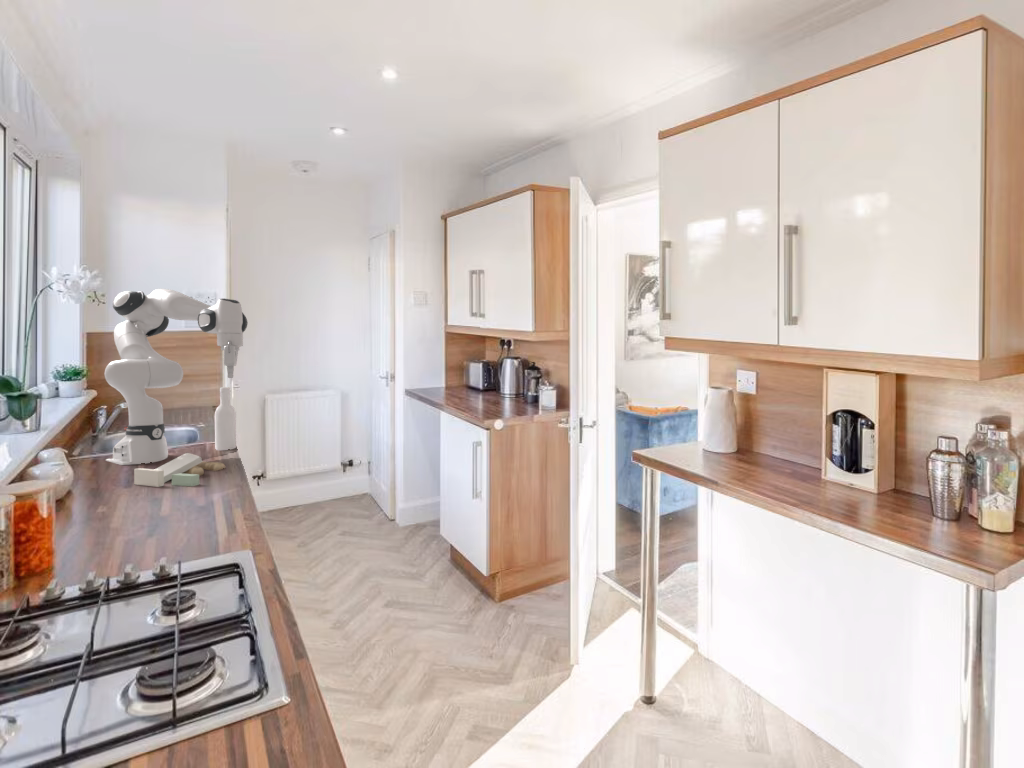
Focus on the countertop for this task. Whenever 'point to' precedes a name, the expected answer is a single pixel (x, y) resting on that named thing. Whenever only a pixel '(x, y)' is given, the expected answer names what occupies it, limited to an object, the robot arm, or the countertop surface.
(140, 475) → the block
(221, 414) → the bottle
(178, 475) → the block
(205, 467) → the rail
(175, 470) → the stone slab
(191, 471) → the rail
